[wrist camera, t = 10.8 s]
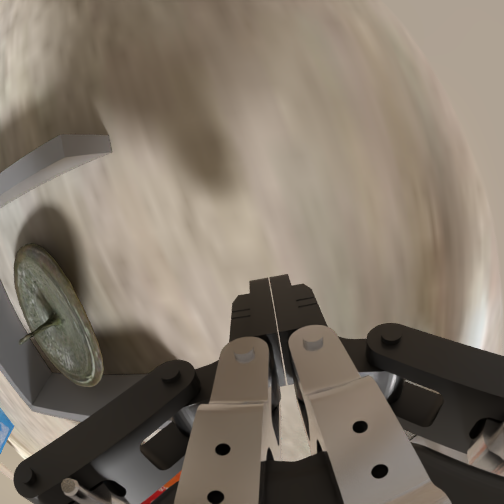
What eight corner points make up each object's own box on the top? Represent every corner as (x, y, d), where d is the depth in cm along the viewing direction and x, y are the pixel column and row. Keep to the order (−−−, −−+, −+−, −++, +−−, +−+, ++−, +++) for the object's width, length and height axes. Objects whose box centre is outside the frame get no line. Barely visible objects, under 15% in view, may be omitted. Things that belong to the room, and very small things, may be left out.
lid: (130, 373, 18) (111, 422, 14) (34, 341, 17) (7, 377, 13) (120, 245, 15) (77, 285, 10) (9, 226, 14) (-37, 251, 9)
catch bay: (108, 135, 12) (60, 134, 8) (193, 379, 18) (186, 428, 14) (-28, 213, 13) (-64, 230, 9) (51, 379, 19) (32, 411, 15)
